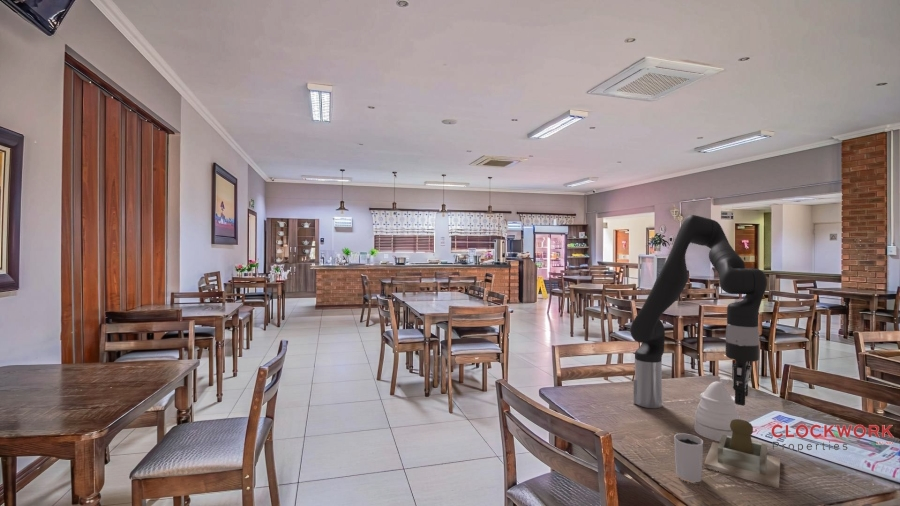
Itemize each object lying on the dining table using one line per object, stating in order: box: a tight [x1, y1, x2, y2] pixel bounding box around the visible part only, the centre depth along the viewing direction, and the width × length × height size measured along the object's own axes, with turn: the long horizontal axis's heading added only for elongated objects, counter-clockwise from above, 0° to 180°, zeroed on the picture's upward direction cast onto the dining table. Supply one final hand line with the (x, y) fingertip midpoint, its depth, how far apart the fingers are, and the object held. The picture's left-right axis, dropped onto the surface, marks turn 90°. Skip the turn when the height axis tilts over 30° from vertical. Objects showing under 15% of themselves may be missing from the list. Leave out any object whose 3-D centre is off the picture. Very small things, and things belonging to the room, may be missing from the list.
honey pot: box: [694, 376, 742, 442], centre depth 134 cm, size 13×13×18 cm
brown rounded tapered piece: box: [730, 418, 754, 455], centre depth 115 cm, size 6×6×11 cm
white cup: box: [673, 432, 704, 482], centre depth 109 cm, size 7×7×10 cm
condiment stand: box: [703, 434, 781, 489], centre depth 115 cm, size 16×16×5 cm
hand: (741, 400), depth 115 cm, fingers open, 8 cm apart
